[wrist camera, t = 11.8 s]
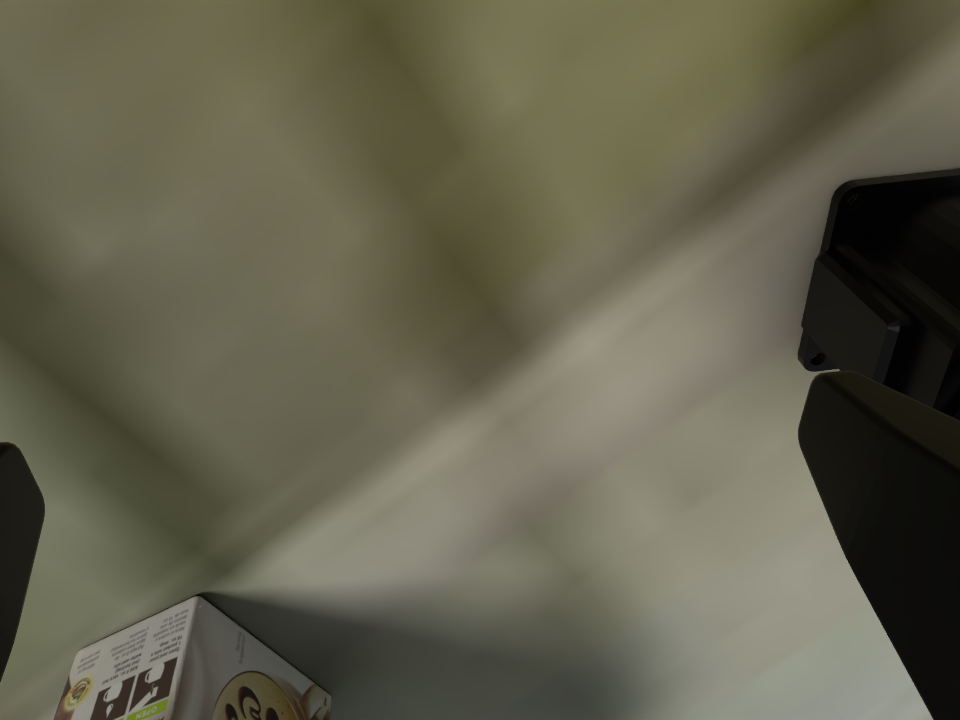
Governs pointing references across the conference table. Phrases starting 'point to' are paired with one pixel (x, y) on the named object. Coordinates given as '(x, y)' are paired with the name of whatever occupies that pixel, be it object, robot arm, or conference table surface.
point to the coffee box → (187, 674)
